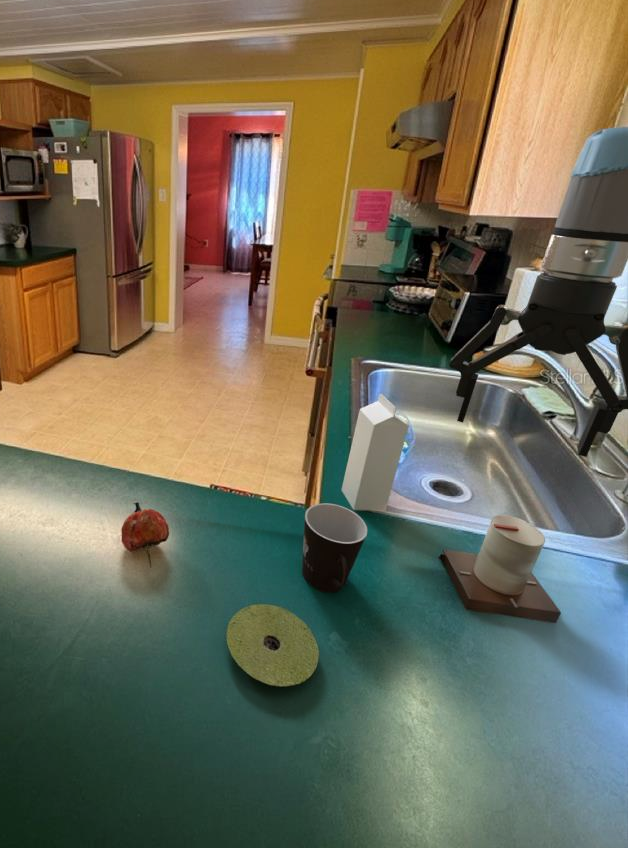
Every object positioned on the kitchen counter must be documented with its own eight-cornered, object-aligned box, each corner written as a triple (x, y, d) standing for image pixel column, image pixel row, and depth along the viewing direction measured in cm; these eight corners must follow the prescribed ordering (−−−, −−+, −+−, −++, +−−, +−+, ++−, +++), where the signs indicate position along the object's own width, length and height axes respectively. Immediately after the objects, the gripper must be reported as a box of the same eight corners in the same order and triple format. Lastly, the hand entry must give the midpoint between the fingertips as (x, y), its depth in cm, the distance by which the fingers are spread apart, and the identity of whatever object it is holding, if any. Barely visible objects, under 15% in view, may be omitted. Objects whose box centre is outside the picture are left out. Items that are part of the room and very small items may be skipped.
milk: (369, 498, 90) (397, 393, 82) (384, 518, 85) (414, 408, 76) (338, 497, 90) (363, 392, 82) (351, 518, 84) (378, 407, 76)
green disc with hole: (214, 619, 63) (216, 608, 62) (293, 609, 65) (295, 598, 64) (241, 704, 53) (243, 692, 52) (332, 689, 55) (336, 677, 54)
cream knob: (509, 565, 73) (530, 516, 69) (532, 598, 67) (556, 547, 63) (466, 559, 73) (484, 510, 70) (484, 591, 67) (505, 540, 64)
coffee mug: (303, 547, 77) (314, 496, 73) (358, 569, 73) (372, 517, 69) (280, 595, 67) (290, 540, 63) (341, 624, 63) (356, 566, 60)
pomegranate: (172, 567, 74) (163, 504, 79) (175, 560, 67) (164, 491, 72) (125, 575, 73) (118, 510, 78) (123, 568, 66) (116, 499, 71)
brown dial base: (517, 568, 75) (522, 557, 74) (557, 625, 65) (563, 613, 64) (438, 557, 76) (442, 546, 75) (466, 611, 67) (470, 599, 66)
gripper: (454, 264, 59) (413, 415, 67) (740, 299, 46) (646, 481, 54) (461, 259, 65) (422, 398, 73) (717, 289, 52) (635, 455, 60)
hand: (517, 434), depth 63 cm, fingers open, 13 cm apart
